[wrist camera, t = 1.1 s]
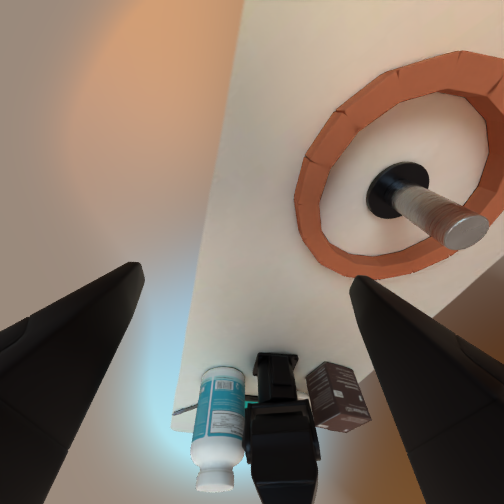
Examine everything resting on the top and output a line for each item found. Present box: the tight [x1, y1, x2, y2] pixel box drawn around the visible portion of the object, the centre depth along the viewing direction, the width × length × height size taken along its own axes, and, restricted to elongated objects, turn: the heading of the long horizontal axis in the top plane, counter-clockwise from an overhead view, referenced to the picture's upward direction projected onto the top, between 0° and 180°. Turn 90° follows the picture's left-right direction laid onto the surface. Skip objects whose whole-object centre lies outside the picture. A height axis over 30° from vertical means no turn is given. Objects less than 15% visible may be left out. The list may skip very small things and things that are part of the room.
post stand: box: [366, 162, 489, 250], centre depth 16 cm, size 5×5×8 cm
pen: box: [172, 404, 198, 415], centre depth 44 cm, size 1×1×14 cm
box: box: [306, 362, 372, 433], centre depth 35 cm, size 6×6×7 cm
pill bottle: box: [191, 367, 245, 492], centre depth 32 cm, size 8×7×14 cm
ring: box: [294, 50, 504, 280], centre depth 19 cm, size 18×18×2 cm
